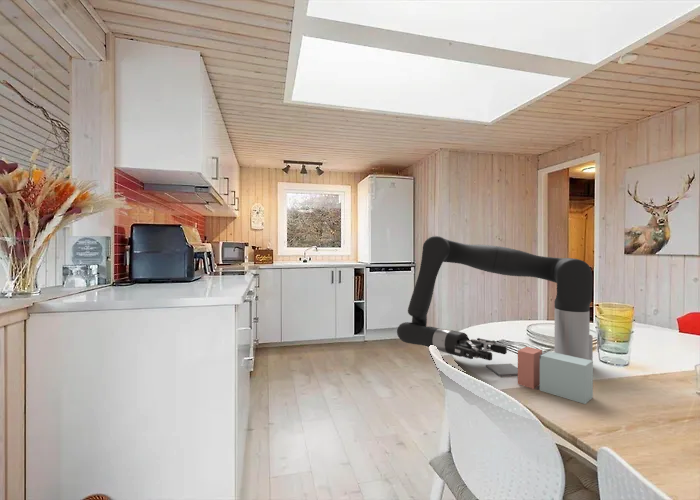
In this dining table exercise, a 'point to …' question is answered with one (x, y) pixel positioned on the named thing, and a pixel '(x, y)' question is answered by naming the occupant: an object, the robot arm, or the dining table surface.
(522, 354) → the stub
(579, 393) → the pale green block
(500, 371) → the coaster
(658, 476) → the dining table surface
